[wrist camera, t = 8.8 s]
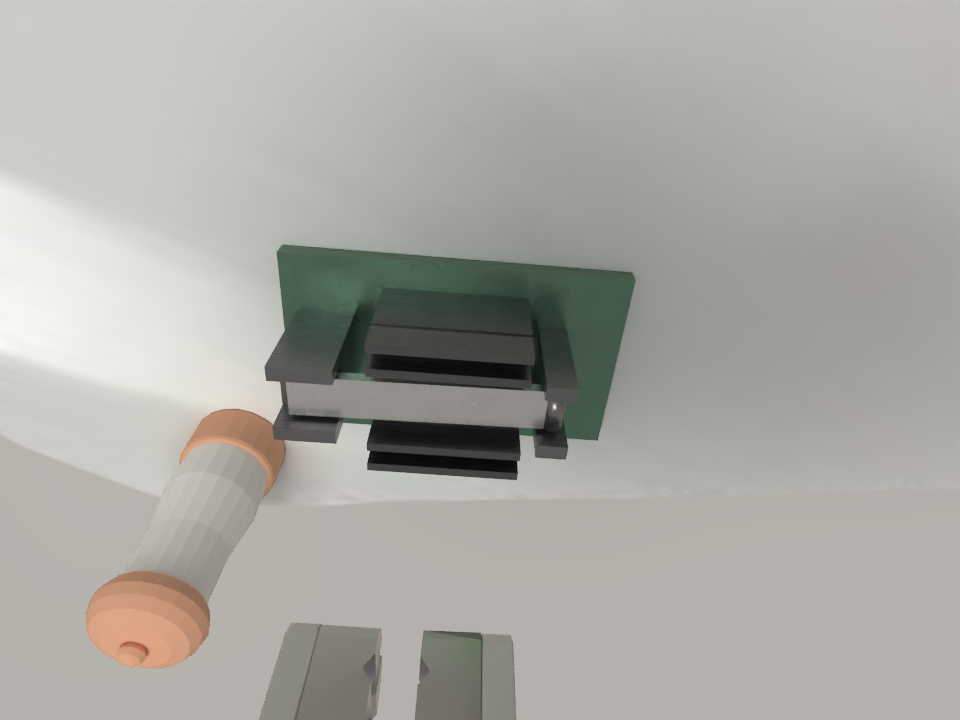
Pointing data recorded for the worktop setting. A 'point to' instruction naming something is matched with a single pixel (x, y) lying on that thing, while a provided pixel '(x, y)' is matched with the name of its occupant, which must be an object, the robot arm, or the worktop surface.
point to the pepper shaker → (187, 544)
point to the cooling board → (448, 347)
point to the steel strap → (426, 402)
